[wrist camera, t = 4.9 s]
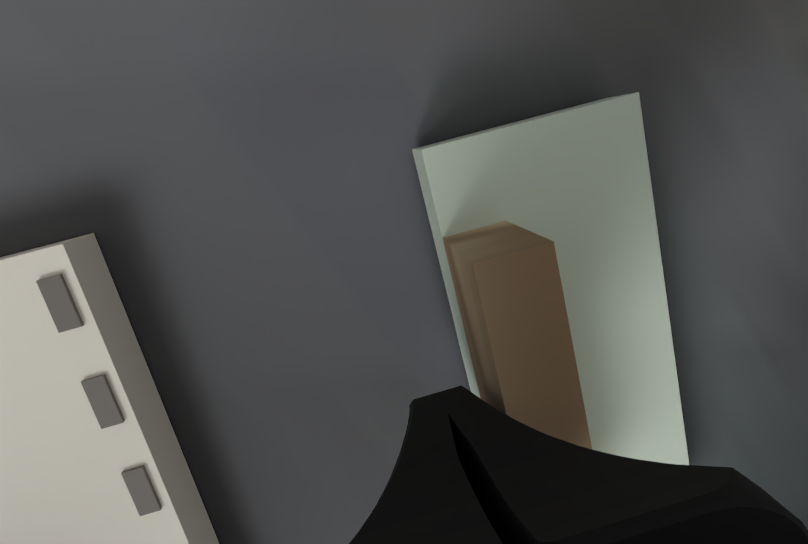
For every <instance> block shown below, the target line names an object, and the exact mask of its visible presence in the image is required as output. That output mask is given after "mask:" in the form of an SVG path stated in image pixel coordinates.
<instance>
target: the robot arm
mask: <svg viewBox="0 0 808 544" xmlns="http://www.w3.org/2000/svg"><path fill="white" fill-rule="evenodd" d="M349 544H808V530H807V529H806V527H805V526H804V524H803V523H802V521H800V520H799V519H798V518H797V517H795V516H794V515H793V514H792V513H790V512H789V511H788V510H787V509H786V508H784V507H783V506H782V505H781V504H780V503H779V502H777V501H776V500H775V499H774V498H773V497H771V496H770V495H769V494H768V493H767V492H765V491H764V490H763V489H762V488H760V487H759V486H758V485H756V484H755V483H753V482H752V481H751V480H749V479H748V478H746V477H745V476H744V475H742V474H741V473H739V472H738V471H736V470H735V469H734V468H730V467H712V466H694V465H677V464H667V463H660V462H653V461H646V460H639V459H633V458H628V457H622V456H617V455H613V454H609V453H605V452H601V451H596V450H592V449H588V448H585V447H582V446H578V445H575V444H572V443H569V442H566V441H563V440H561V439H558V438H555V437H552V436H550V435H547V434H545V433H542V432H540V431H538V430H535V429H533V428H531V427H529V426H527V425H525V424H523V423H521V422H519V421H517V420H515V419H513V418H511V417H510V416H508V415H506V414H504V413H503V412H501V411H499V410H498V409H496V408H494V407H493V406H491V405H490V404H488V403H487V402H485V401H484V400H482V399H481V398H479V397H478V396H476V395H475V394H473V393H472V392H470V391H469V390H468V389H466V388H464V387H463V386H458V387H455V388H452V389H448V390H445V391H441V392H438V393H434V394H431V395H428V396H424V397H421V398H417V399H414V400H413V401H412V402H411V404H410V413H409V420H408V425H407V430H406V434H405V437H404V441H403V444H402V448H401V451H400V454H399V457H398V459H397V462H396V464H395V467H394V470H393V472H392V475H391V477H390V479H389V481H388V484H387V486H386V488H385V490H384V492H383V494H382V495H381V497H380V499H379V501H378V503H377V505H376V506H375V508H374V510H373V511H372V513H371V514H370V516H369V517H368V519H367V521H366V522H365V523H364V525H363V526H362V528H361V529H360V531H359V532H358V533H357V535H356V536H355V537H354V538H353V540H352V541H351V542H350V543H349Z"/></svg>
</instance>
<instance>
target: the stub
mask: <svg viewBox="0 0 808 544" xmlns="http://www.w3.org/2000/svg"><path fill="white" fill-rule="evenodd" d="M412 152H413V156H414V160H415V164H416V168H417V172H418V176H419V181H420V185H421V189H422V193H423V197H424V201H425V205H426V209H427V213H428V218H429V222H430V226H431V230H432V234H433V238H434V242H435V246H436V251H437V255H438V259H439V263H440V267H441V271H442V275H443V279H444V283H445V288H446V292H447V296H448V300H449V304H450V308H451V312H452V316H453V321H454V325H455V329H456V333H457V337H458V341H459V345H460V349H461V353H462V358H463V362H464V366H465V370H466V374H467V378H468V382H469V386H470V390H471V392H472V393H473V394H475V395H476V396H478V397H479V398H481V399H482V400H484V401H485V402H487V403H488V404H490V405H491V406H493V407H494V408H496V409H498V410H499V411H501V412H503V413H504V414H506V415H508V416H510V417H511V418H513V419H515V420H517V421H519V422H521V423H523V424H525V425H527V426H529V427H531V428H533V429H535V430H538V431H540V432H542V433H545V434H547V435H550V436H552V437H555V438H558V439H561V440H563V441H566V442H569V443H572V444H575V445H578V446H582V447H585V448H588V449H592V450H596V451H601V452H605V453H609V454H613V455H617V456H622V457H628V458H633V459H639V460H646V461H653V462H660V463H667V464H677V465H689V459H688V452H687V444H686V437H685V430H684V422H683V415H682V407H681V400H680V393H679V385H678V378H677V370H676V363H675V356H674V348H673V341H672V333H671V326H670V319H669V311H668V304H667V296H666V289H665V282H664V274H663V267H662V259H661V252H660V245H659V237H658V230H657V222H656V215H655V208H654V200H653V193H652V185H651V178H650V171H649V163H648V156H647V148H646V141H645V134H644V126H643V119H642V111H641V104H640V97H639V92H636V93H631V94H625V95H620V96H614V97H609V98H604V99H600V100H597V101H593V102H589V103H585V104H581V105H578V106H574V107H570V108H566V109H562V110H559V111H555V112H551V113H547V114H544V115H540V116H536V117H532V118H528V119H525V120H521V121H517V122H513V123H509V124H506V125H502V126H498V127H494V128H490V129H487V130H483V131H479V132H475V133H471V134H468V135H464V136H460V137H456V138H452V139H449V140H445V141H441V142H437V143H434V144H430V145H426V146H422V147H418V148H415V149H412Z"/></svg>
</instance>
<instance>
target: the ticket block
mask: <svg viewBox="0 0 808 544" xmlns="http://www.w3.org/2000/svg"><path fill="white" fill-rule="evenodd" d="M0 544H219V541H218V539H217V536H216V534H215V532H214V529H213V527H212V524H211V522H210V519H209V517H208V514H207V512H206V509H205V507H204V504H203V502H202V499H201V497H200V494H199V492H198V490H197V487H196V485H195V482H194V480H193V477H192V475H191V472H190V470H189V467H188V465H187V462H186V460H185V457H184V455H183V452H182V450H181V447H180V445H179V443H178V440H177V438H176V435H175V433H174V430H173V428H172V425H171V423H170V420H169V418H168V415H167V413H166V410H165V408H164V405H163V403H162V401H161V398H160V396H159V393H158V391H157V388H156V386H155V383H154V381H153V378H152V376H151V373H150V371H149V368H148V366H147V363H146V361H145V358H144V356H143V354H142V351H141V349H140V346H139V344H138V341H137V339H136V336H135V334H134V331H133V329H132V326H131V324H130V321H129V319H128V316H127V314H126V312H125V309H124V307H123V304H122V302H121V299H120V297H119V294H118V292H117V289H116V287H115V284H114V282H113V279H112V277H111V274H110V272H109V270H108V267H107V265H106V262H105V260H104V257H103V255H102V252H101V250H100V247H99V245H98V242H97V240H96V237H95V235H94V233H91V234H87V235H83V236H79V237H76V238H72V239H68V240H64V241H61V242H57V243H53V244H49V245H45V246H42V247H38V248H34V249H30V250H26V251H23V252H19V253H15V254H11V255H7V256H4V257H0Z"/></svg>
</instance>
